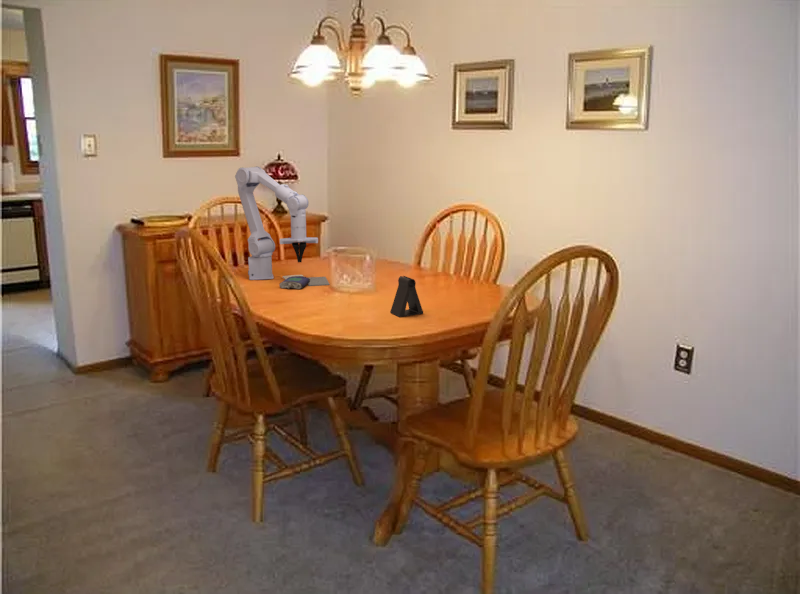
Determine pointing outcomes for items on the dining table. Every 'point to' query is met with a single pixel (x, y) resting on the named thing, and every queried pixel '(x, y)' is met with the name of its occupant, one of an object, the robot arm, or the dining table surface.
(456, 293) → the dining table surface
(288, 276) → the napkin
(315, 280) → the board
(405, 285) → the phone stand
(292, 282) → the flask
